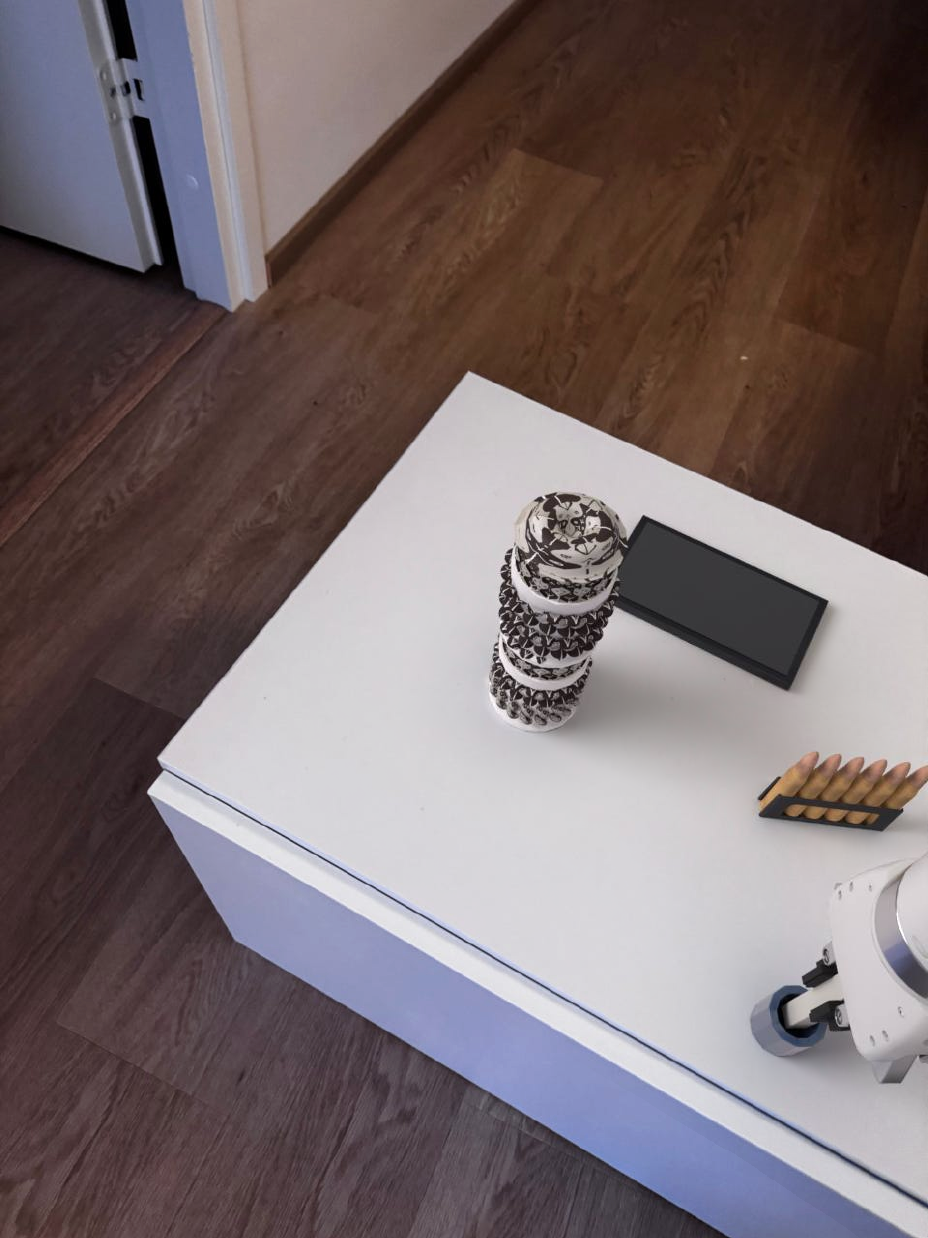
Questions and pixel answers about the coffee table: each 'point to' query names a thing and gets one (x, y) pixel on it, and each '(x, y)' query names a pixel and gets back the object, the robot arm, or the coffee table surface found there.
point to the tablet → (717, 602)
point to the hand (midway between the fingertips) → (828, 999)
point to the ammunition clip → (842, 792)
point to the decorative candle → (554, 607)
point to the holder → (782, 1024)
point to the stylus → (811, 1003)
